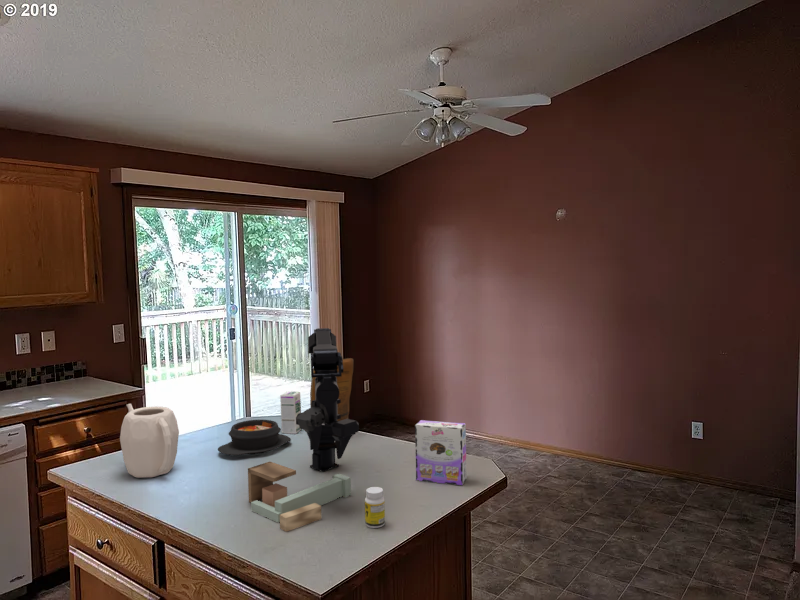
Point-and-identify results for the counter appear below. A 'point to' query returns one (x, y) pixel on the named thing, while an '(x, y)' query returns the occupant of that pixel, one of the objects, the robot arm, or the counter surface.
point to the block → (273, 494)
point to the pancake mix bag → (340, 388)
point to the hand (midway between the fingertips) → (327, 454)
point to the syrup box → (290, 412)
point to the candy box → (440, 452)
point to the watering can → (149, 441)
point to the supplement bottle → (374, 507)
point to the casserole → (254, 438)
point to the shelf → (265, 477)
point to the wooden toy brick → (300, 517)
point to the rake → (306, 497)
